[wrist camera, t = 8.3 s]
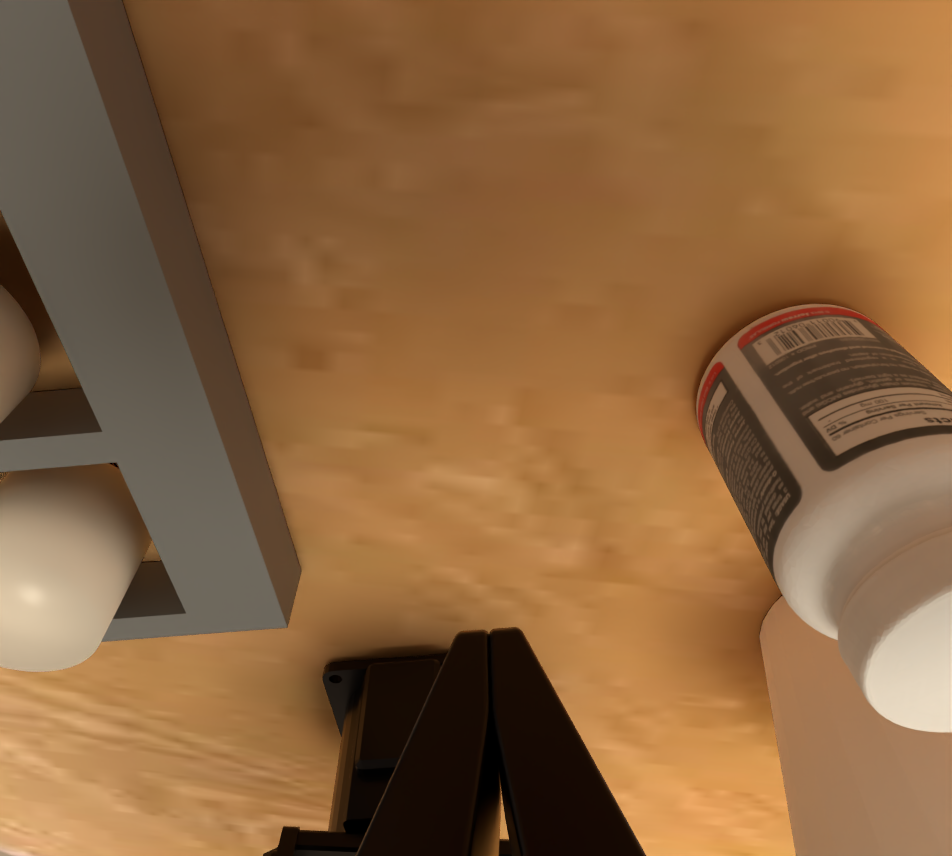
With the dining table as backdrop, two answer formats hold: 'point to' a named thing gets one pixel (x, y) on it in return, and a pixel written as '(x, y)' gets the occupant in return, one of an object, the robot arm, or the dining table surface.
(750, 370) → the pill bottle
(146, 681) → the dining table surface
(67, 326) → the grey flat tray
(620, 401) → the dining table surface
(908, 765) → the cup
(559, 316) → the dining table surface
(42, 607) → the button
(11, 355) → the button
